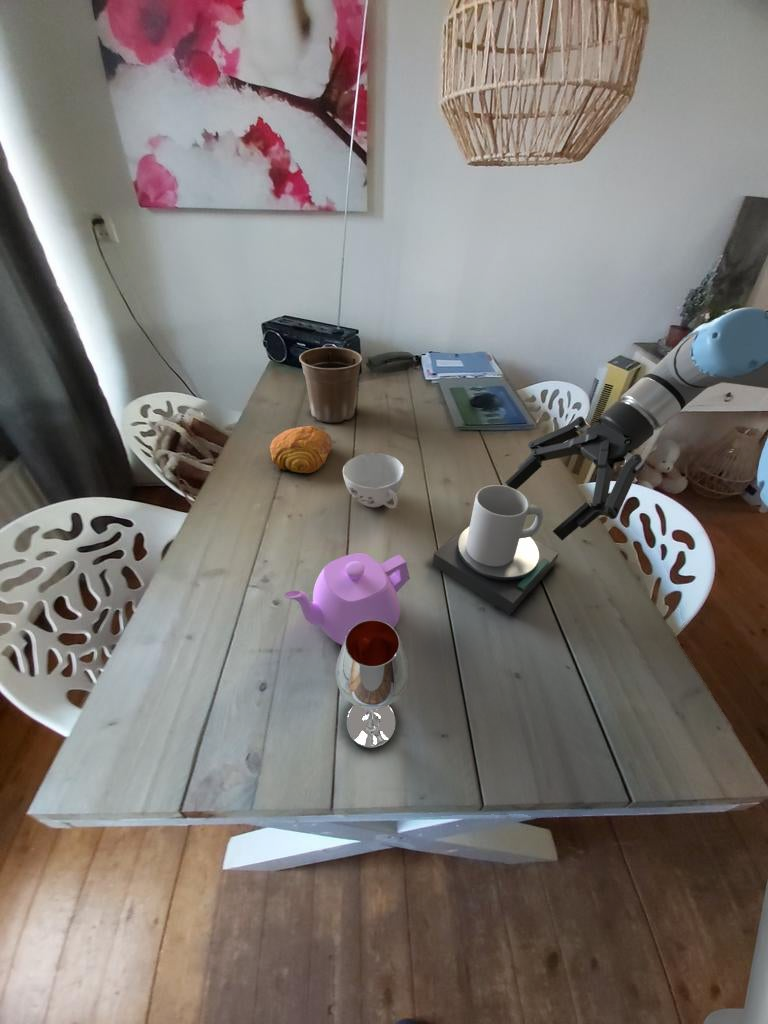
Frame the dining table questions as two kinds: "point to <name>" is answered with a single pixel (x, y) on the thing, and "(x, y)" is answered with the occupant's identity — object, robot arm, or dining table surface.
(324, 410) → the plant pot
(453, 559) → the scale
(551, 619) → the dining table surface
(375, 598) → the teapot
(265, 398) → the dining table surface
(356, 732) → the wineglass
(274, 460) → the croissant
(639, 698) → the dining table surface
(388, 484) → the teacup
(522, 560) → the scale pan
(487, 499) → the mug
